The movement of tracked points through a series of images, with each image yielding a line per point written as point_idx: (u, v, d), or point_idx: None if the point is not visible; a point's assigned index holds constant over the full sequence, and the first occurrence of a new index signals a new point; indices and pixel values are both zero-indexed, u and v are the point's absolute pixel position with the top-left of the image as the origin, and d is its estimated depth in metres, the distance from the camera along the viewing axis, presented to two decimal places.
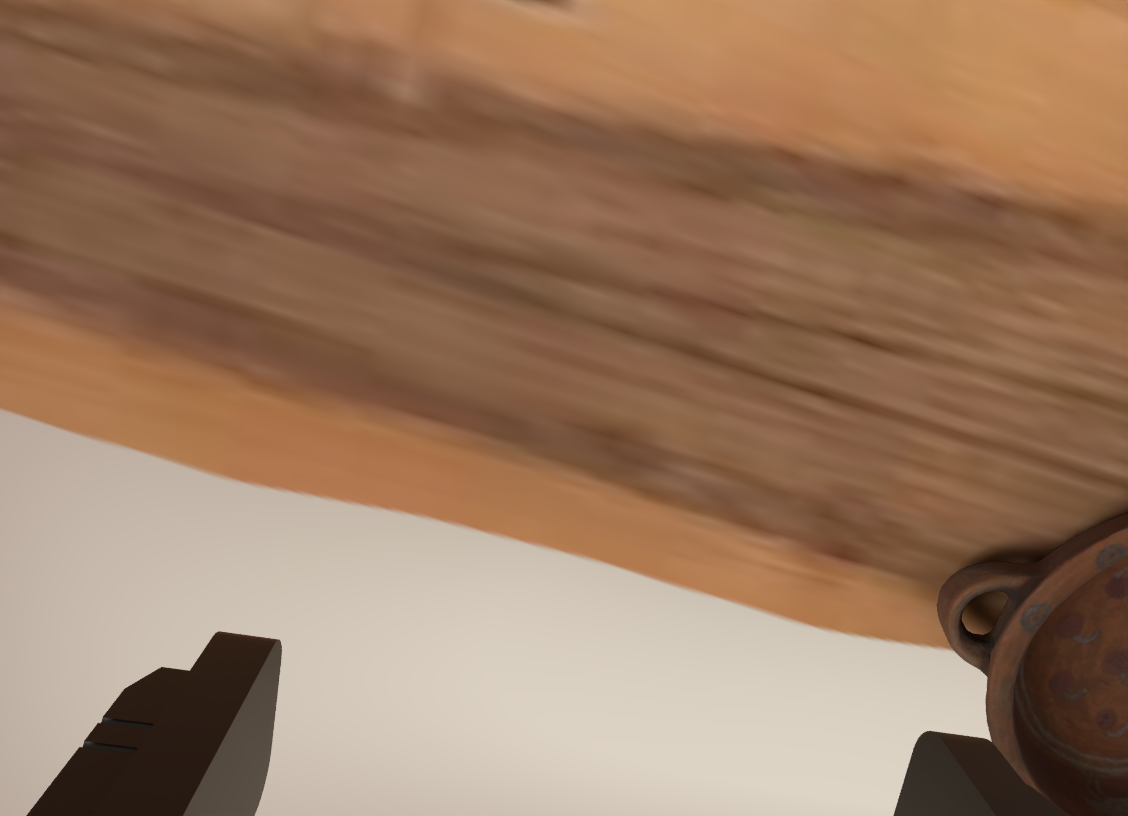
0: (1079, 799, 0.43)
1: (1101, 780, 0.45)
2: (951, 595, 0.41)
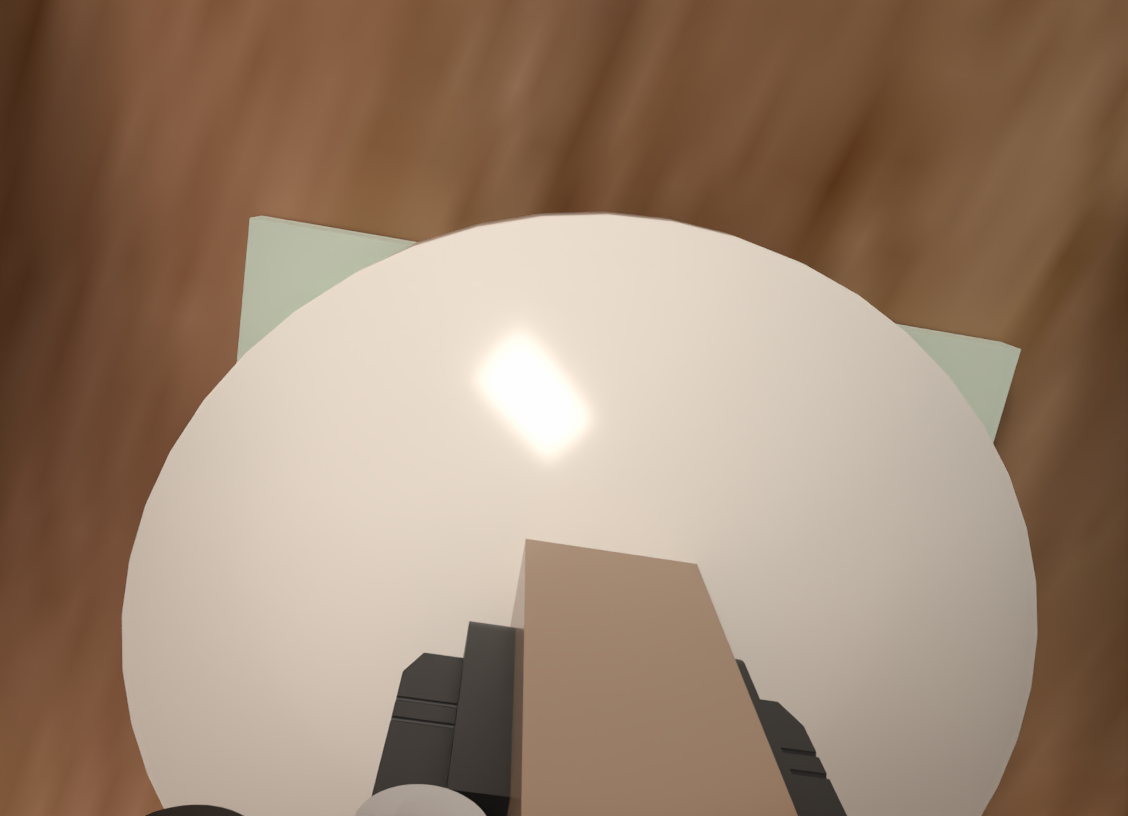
0: None
1: None
2: None
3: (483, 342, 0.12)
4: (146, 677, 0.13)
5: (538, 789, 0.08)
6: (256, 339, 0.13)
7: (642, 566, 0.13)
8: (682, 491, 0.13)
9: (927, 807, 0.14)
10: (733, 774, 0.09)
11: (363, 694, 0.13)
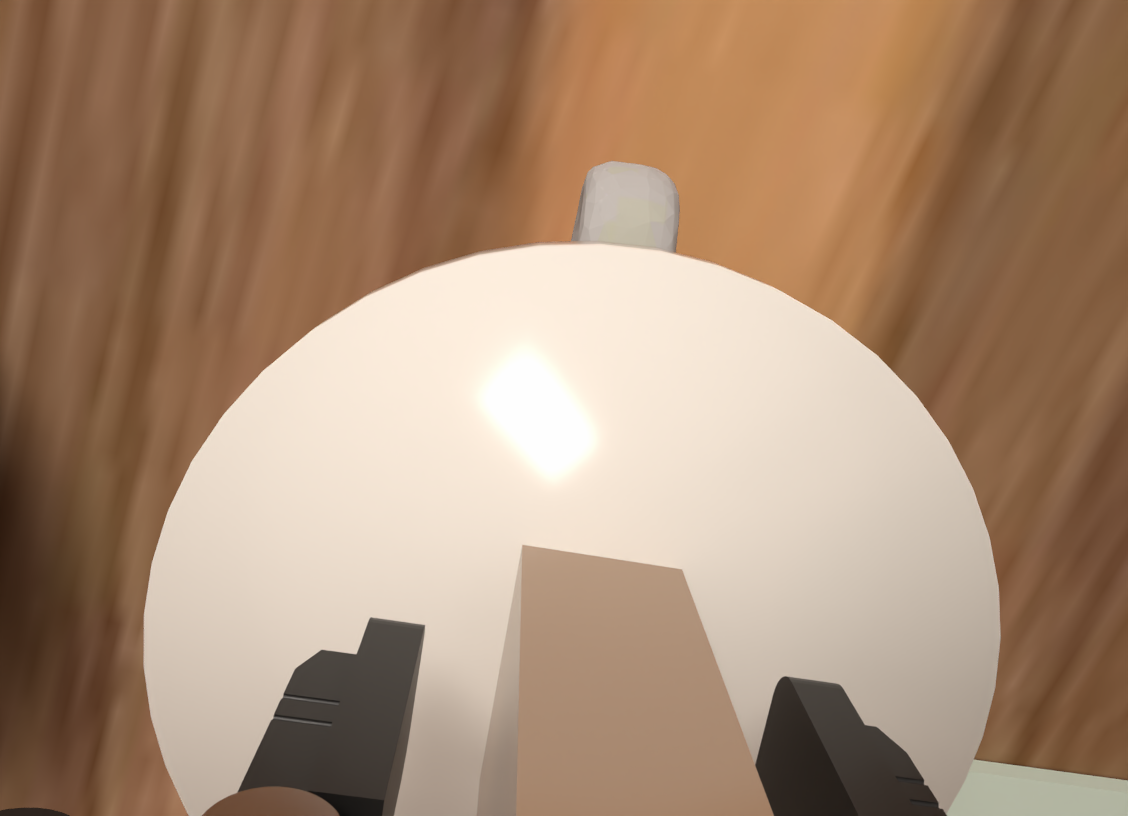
0: None
1: None
2: None
3: (484, 361, 0.13)
4: (165, 673, 0.14)
5: (532, 766, 0.09)
6: None
7: (631, 571, 0.14)
8: (668, 500, 0.14)
9: None
10: (708, 756, 0.09)
11: None
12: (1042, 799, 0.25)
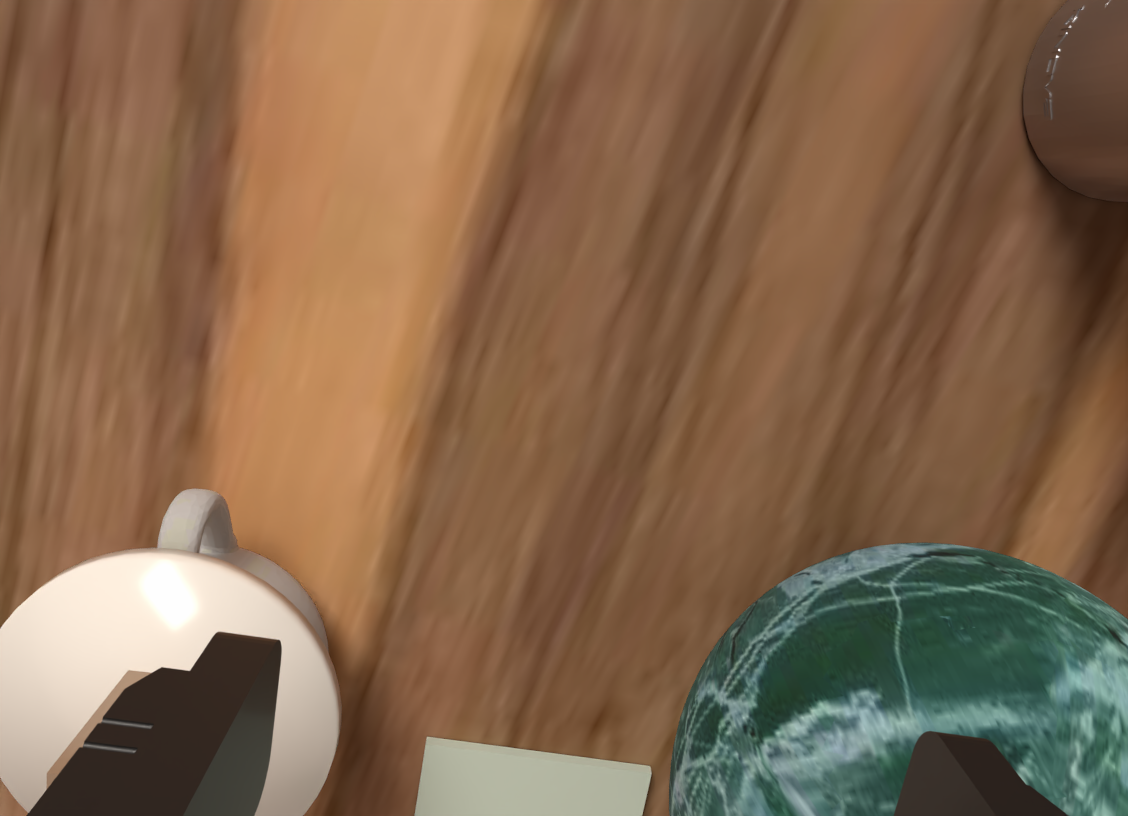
0: None
1: None
2: None
3: (102, 601, 0.34)
4: None
5: (63, 758, 0.29)
6: (426, 774, 0.45)
7: None
8: (185, 651, 0.34)
9: (305, 769, 0.36)
10: None
11: (73, 729, 0.35)
12: (519, 765, 0.45)
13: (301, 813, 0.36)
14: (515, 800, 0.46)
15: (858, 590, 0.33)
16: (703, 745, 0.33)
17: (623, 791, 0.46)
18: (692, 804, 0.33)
